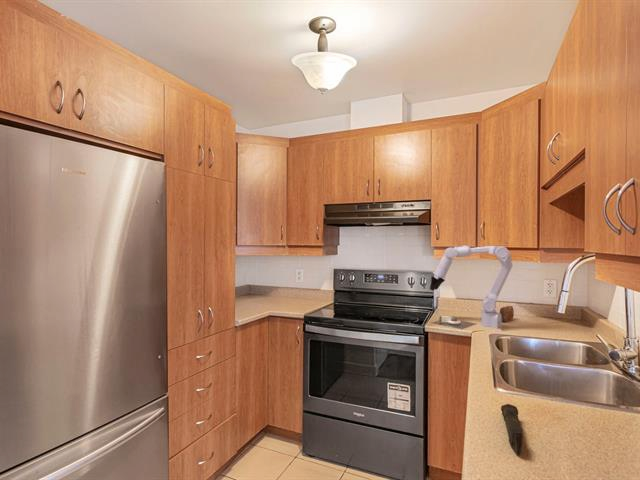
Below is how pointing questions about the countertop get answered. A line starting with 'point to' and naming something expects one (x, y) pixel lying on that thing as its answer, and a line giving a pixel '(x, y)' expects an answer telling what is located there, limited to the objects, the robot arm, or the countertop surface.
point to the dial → (449, 320)
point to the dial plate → (459, 326)
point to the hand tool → (513, 427)
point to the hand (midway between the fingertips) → (433, 289)
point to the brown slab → (507, 313)
